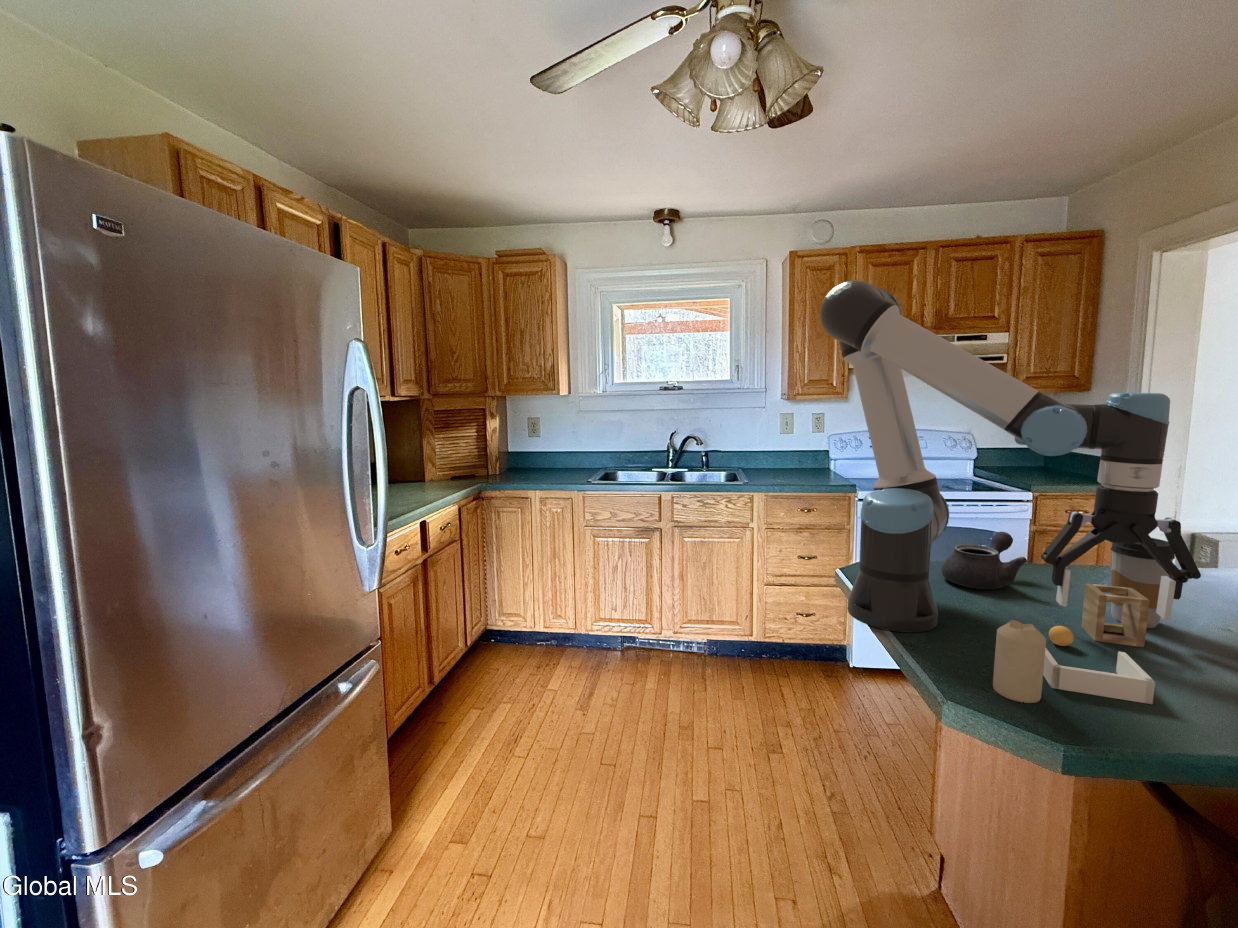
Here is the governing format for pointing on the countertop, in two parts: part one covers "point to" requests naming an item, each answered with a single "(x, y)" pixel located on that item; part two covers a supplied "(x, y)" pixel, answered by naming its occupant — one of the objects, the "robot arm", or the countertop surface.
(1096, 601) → the wooden cage
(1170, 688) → the countertop surface
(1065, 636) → the ball
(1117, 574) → the coffee cup
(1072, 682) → the white u-shaped corral
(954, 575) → the teapot
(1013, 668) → the candle
